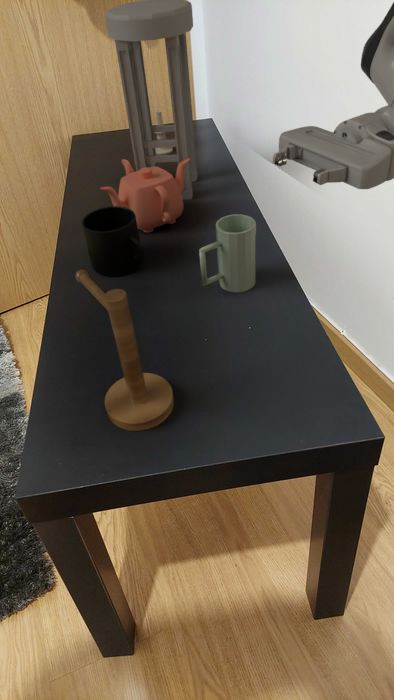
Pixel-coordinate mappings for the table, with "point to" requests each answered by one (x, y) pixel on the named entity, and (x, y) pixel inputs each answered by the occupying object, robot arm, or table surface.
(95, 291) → the mug stand
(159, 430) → the table surface
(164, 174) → the teapot
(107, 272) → the mug
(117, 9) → the stool
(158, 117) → the candle
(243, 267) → the cup
